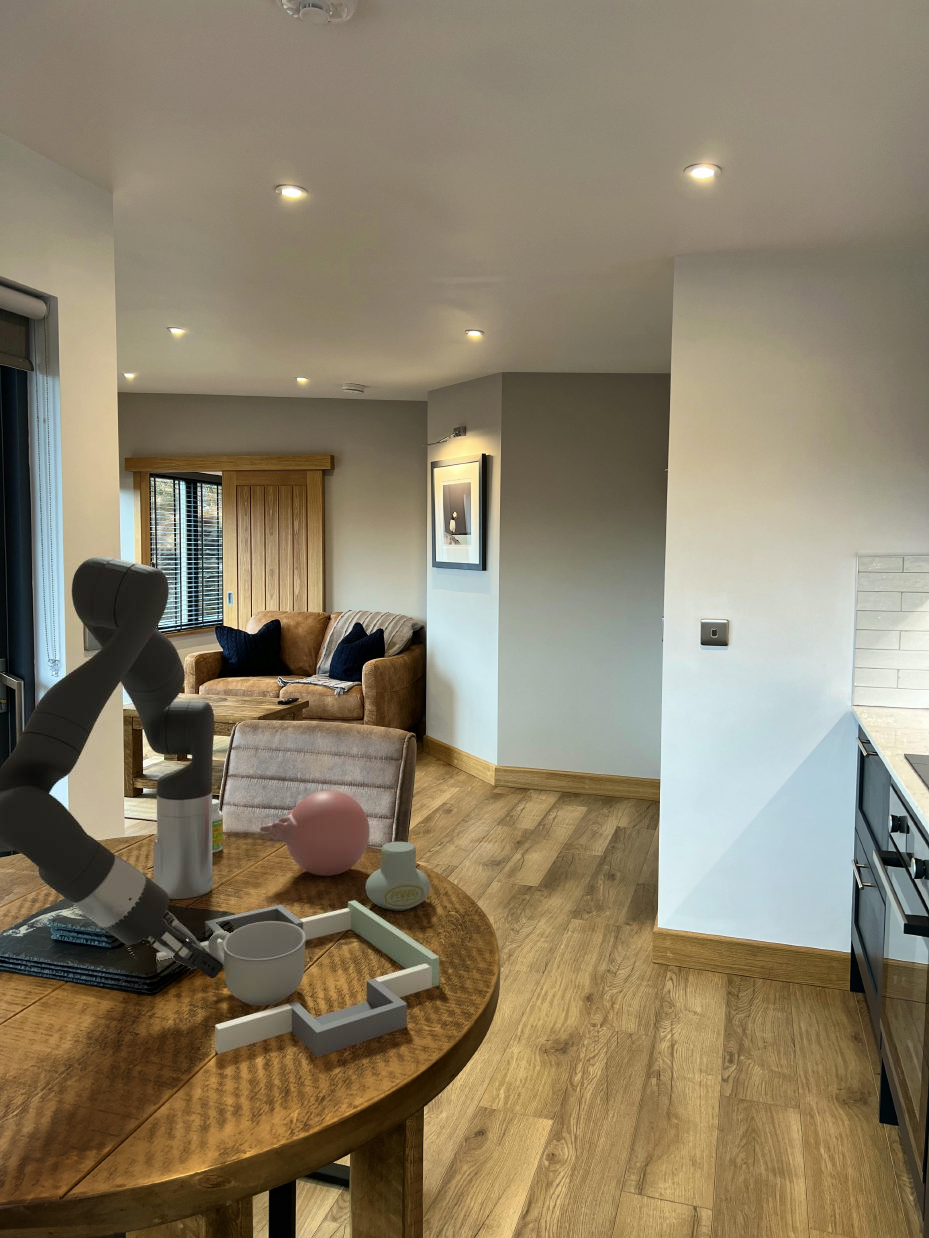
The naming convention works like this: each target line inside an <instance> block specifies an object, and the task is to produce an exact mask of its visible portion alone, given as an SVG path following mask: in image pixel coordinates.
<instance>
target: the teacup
mask: <svg viewBox="0 0 929 1238" xmlns="http://www.w3.org/2000/svg"><path fill="white" fill-rule="evenodd" d="M218 939H221V940H223V950H224V955H223V954H222V952H221V951H220V949H219V948H218V944H217V941H218ZM306 942H307V940H306V935H305V933H304V931H303V930H302V929H301V928H299V927H298V926H296V925H293V924H290V923H286V922H278V921H265V922H257V923H253V924H248V925H246V926H243V927H240V928H238V929H236V930H234V931H233V932H231V933H229V932H227V931H224V930H220V931H217V932H215V933H214V934H213V935H212V936H211V937H210V939H209V942H208V949H209V952H210V953H211V954H212V955H213V956H215V957H216V958H217V959H219V960H220V962H221V963H222V964H223V969H224V979H225V983H226V987H227V989H228V991H229V992H230V993H231V994H232V996H233V997H235V998H236V999H239V1000H240V1001H241V1002H243V1003H245V1004H247V1005H250V1006H258V1007H262V1006H272V1005H275V1004H278V1003H280V1002H282V1001H284V1000H285V999H287V998H288V997H289V996H291V994H293V993H294V992H295V991H296V990H297V989H298V988H299V987H300V985H301V984H302V981H303V979H304V975H305V964H306V963H305V962H306Z"/></svg>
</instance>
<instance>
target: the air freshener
mask: <svg viewBox="0 0 929 1238" xmlns="http://www.w3.org/2000/svg"><path fill="white" fill-rule="evenodd" d="M416 852H417V848H416V846H415V845H414V844H413V843H411V842H408V841H407V842H406V841H391V842H386V843H384V844H383V845H382V846H381V847H380V868H378V869H377V870H375V871H374V872H373V873H372V874H371V875H369V876H368V879H367V880H366V882H365V893H366V896H367V897H368V899H369V900H370V901H371V902H372V903H373V904H375V905H377V906H378V907H380V908H383V909H387V910H390V911H394V912H396V911H397V912H403V911H407V910H411V909H412V908H414V907H417V906H418V905H420V904H422V903H423V902H424V901H425V900H426V899H427V898H428V896H429V894H430V891H431V882H430V880H429V878H428V877H427V875H426V874H425V873H424V872H423V871H422V870H420V869H418V868H417V867H416V866H417V865H416V864H417V863H416V861H417V859H416V858H417V856H416V855H417V854H416Z"/></svg>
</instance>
